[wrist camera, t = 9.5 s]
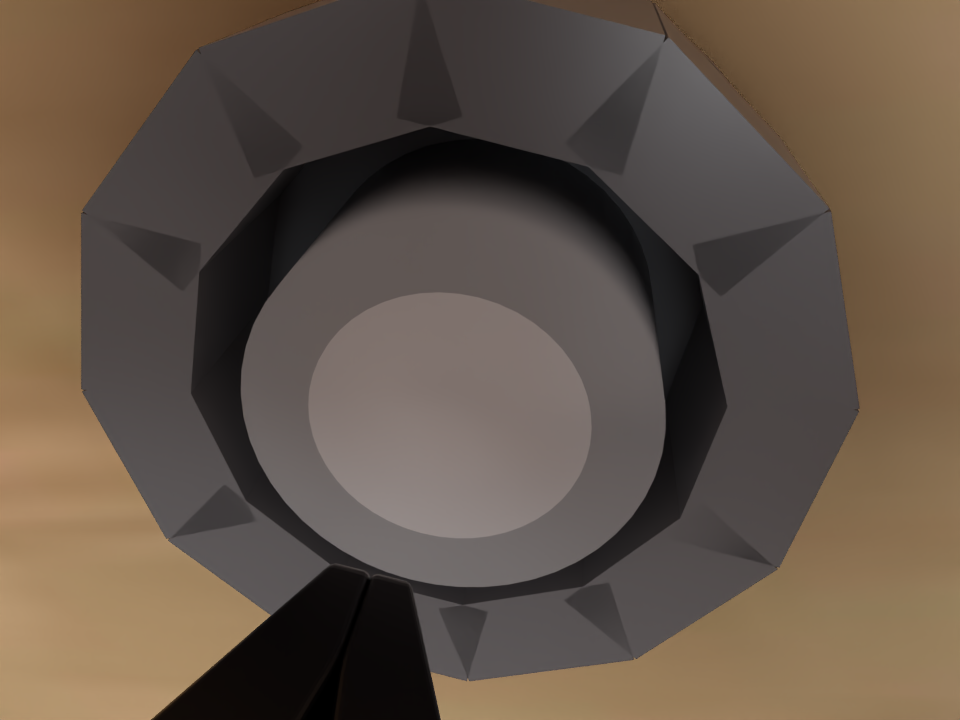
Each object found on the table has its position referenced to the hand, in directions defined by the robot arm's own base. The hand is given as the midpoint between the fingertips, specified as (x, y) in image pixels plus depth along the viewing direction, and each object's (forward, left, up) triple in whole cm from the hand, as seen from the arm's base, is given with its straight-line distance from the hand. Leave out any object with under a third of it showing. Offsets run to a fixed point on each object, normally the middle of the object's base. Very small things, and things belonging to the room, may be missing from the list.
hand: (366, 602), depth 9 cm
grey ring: (0, 0, -9) cm, 9 cm away
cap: (0, 0, -8) cm, 8 cm away
